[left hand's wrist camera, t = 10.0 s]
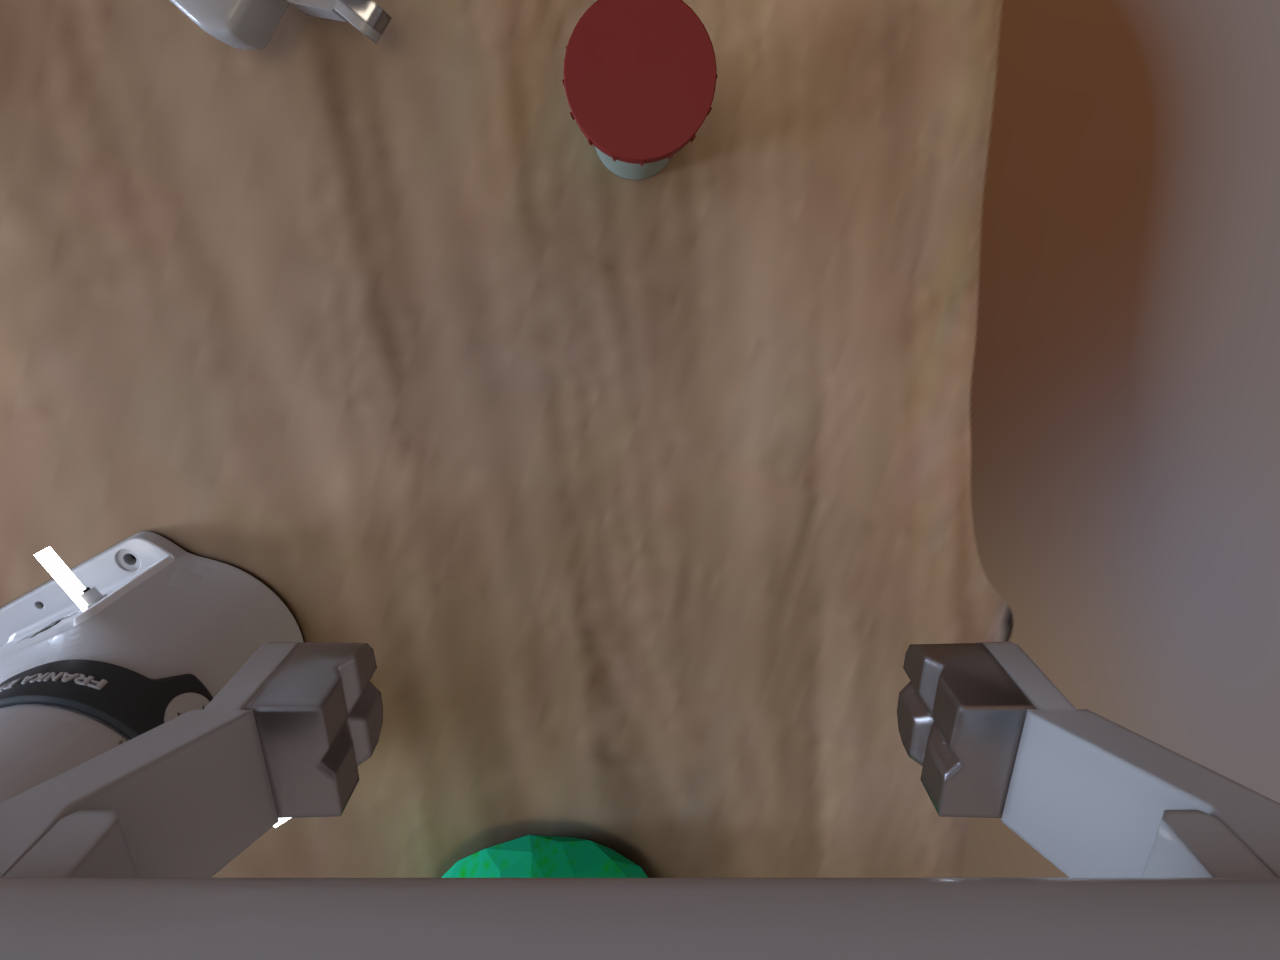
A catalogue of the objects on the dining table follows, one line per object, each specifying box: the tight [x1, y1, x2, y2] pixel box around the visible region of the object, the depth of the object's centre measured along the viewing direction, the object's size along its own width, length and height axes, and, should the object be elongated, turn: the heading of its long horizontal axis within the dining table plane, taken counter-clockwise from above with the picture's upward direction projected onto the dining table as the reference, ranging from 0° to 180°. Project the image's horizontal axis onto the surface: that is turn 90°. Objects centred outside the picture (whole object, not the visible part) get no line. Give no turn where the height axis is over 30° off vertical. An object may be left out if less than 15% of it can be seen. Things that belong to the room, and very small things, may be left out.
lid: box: [563, 0, 717, 166], centre depth 26 cm, size 6×6×2 cm
